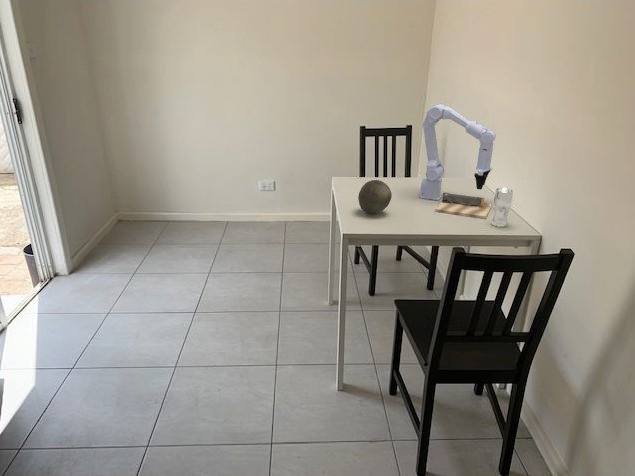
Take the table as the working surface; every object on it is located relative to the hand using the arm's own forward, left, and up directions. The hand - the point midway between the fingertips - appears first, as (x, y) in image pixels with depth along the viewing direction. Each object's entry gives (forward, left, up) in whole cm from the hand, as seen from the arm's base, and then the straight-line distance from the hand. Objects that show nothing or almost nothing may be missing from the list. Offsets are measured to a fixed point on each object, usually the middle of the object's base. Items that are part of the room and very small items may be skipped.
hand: (480, 186), depth 218 cm
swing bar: (-6, -7, -6) cm, 11 cm away
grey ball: (-40, -33, -9) cm, 52 cm away
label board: (-5, -10, -9) cm, 14 cm away
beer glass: (+12, -23, -9) cm, 27 cm away
